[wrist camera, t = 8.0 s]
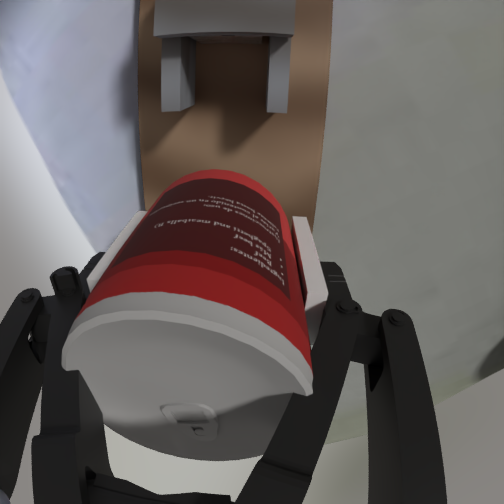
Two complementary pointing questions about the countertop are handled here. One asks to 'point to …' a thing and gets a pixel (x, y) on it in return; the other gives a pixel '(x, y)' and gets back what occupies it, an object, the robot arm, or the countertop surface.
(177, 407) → the canned food
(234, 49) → the bearing rail
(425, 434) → the robot arm
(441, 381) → the countertop surface
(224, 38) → the shaft
